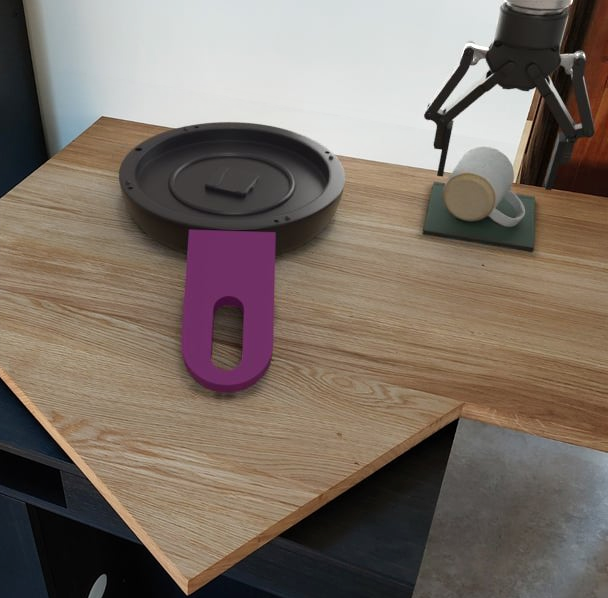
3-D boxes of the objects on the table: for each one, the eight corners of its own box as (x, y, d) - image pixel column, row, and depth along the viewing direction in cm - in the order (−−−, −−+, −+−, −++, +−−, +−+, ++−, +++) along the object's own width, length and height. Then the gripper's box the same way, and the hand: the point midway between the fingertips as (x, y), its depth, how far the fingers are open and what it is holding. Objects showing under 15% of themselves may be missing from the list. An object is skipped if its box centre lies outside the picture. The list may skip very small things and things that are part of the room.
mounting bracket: (268, 415, 85) (272, 271, 92) (272, 386, 77) (276, 232, 84) (182, 411, 86) (192, 268, 92) (177, 382, 78) (189, 229, 84)
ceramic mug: (434, 216, 105) (446, 163, 99) (452, 190, 110) (465, 139, 105) (513, 239, 101) (530, 185, 96) (527, 211, 106) (545, 159, 101)
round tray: (363, 178, 114) (176, 143, 122) (369, 139, 110) (174, 106, 117) (303, 289, 93) (81, 238, 101) (307, 246, 89) (76, 197, 97)
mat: (533, 200, 110) (535, 196, 109) (532, 252, 100) (534, 247, 99) (433, 185, 112) (434, 181, 112) (422, 234, 103) (423, 230, 102)
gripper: (420, 5, 88) (394, 178, 102) (658, 24, 82) (596, 205, 96) (427, -13, 93) (401, 154, 107) (651, 4, 88) (593, 177, 102)
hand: (493, 178), depth 102 cm, fingers open, 13 cm apart
